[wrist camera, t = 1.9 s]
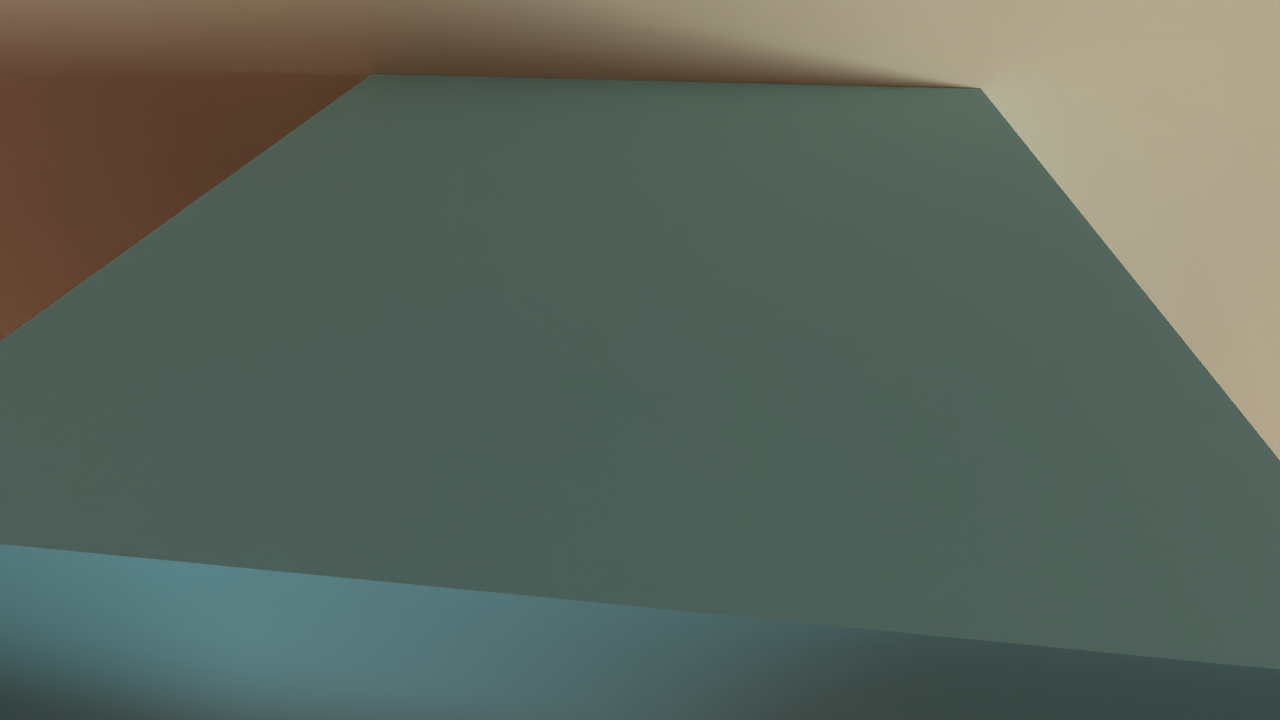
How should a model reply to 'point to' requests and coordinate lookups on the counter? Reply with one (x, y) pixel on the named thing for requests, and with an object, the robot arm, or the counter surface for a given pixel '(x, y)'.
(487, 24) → the counter surface
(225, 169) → the counter surface
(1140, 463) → the teal block
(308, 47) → the counter surface
